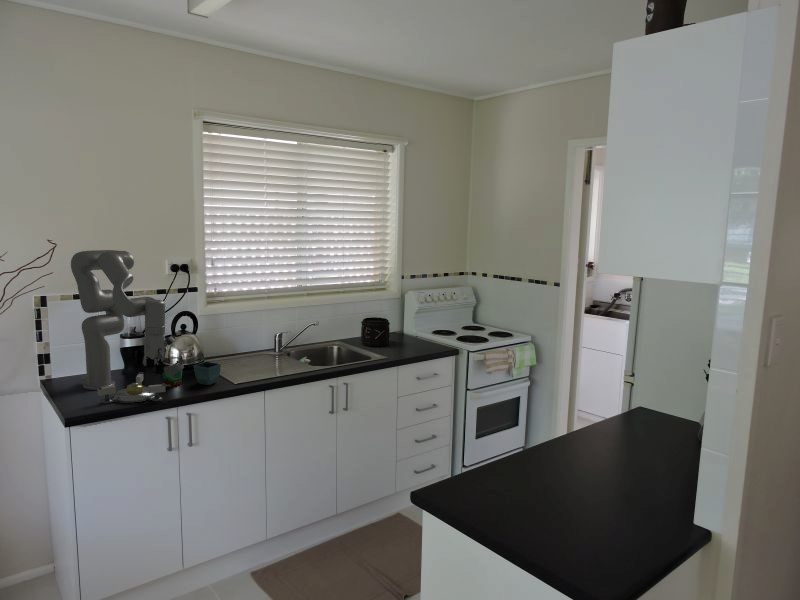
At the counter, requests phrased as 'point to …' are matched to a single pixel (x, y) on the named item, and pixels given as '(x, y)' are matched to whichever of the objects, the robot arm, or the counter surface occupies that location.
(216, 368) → the flower pot
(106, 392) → the near knob
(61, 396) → the counter surface
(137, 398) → the levelling plate
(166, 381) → the food container
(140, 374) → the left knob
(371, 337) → the black canister
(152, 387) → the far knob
